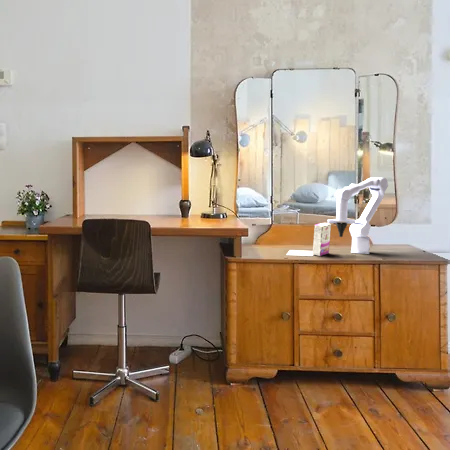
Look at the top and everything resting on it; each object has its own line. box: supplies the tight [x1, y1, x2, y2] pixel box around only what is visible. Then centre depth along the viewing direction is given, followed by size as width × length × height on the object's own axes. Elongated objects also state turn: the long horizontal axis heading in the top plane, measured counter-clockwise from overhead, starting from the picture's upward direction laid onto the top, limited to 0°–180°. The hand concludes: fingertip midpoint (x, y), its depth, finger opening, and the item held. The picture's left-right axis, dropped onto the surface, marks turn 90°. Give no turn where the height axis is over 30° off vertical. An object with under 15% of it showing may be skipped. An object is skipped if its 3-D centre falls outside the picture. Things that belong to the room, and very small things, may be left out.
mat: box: [285, 249, 314, 257], centre depth 244 cm, size 14×16×1 cm
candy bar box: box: [312, 222, 332, 257], centre depth 240 cm, size 11×5×16 cm, turn 143°
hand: (340, 236), depth 241 cm, fingers closed
